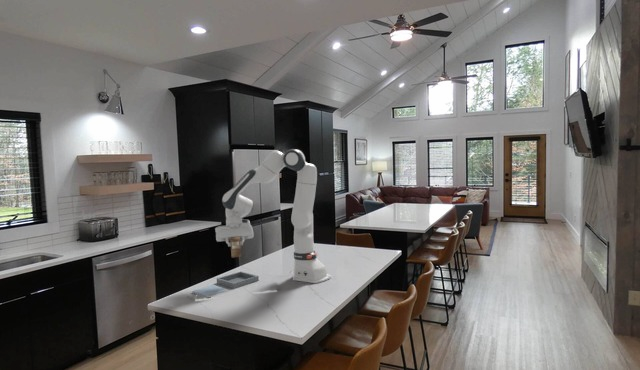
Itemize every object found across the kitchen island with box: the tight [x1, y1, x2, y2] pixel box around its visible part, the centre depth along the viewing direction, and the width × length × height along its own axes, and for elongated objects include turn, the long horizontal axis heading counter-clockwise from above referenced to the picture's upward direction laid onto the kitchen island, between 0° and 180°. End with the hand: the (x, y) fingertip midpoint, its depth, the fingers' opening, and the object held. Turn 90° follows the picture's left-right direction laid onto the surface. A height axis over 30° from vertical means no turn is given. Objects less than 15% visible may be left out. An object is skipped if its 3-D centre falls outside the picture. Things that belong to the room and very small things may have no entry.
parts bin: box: [216, 271, 259, 289], centre depth 209 cm, size 16×16×4 cm
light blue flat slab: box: [192, 284, 228, 299], centre depth 197 cm, size 14×12×1 cm
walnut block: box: [229, 237, 242, 258], centre depth 208 cm, size 5×5×10 cm
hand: (235, 245), depth 207 cm, fingers closed on walnut block, 5 cm apart
